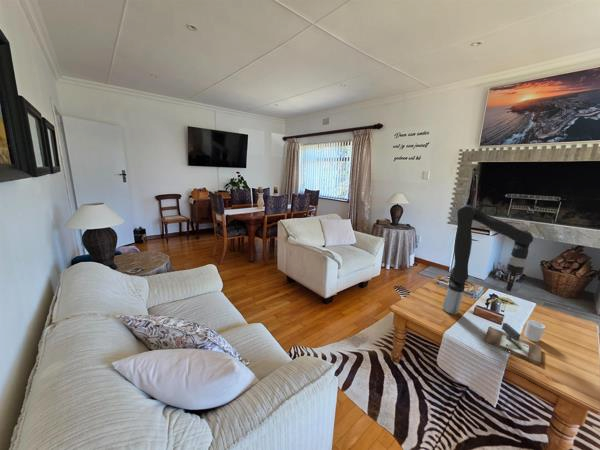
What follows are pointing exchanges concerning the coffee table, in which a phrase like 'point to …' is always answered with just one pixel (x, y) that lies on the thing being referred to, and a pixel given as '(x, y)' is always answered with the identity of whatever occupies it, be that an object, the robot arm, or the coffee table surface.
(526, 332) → the white cup
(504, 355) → the coffee table surface
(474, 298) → the coffee table surface
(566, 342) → the coffee table surface
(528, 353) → the tuner board
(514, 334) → the peg key
